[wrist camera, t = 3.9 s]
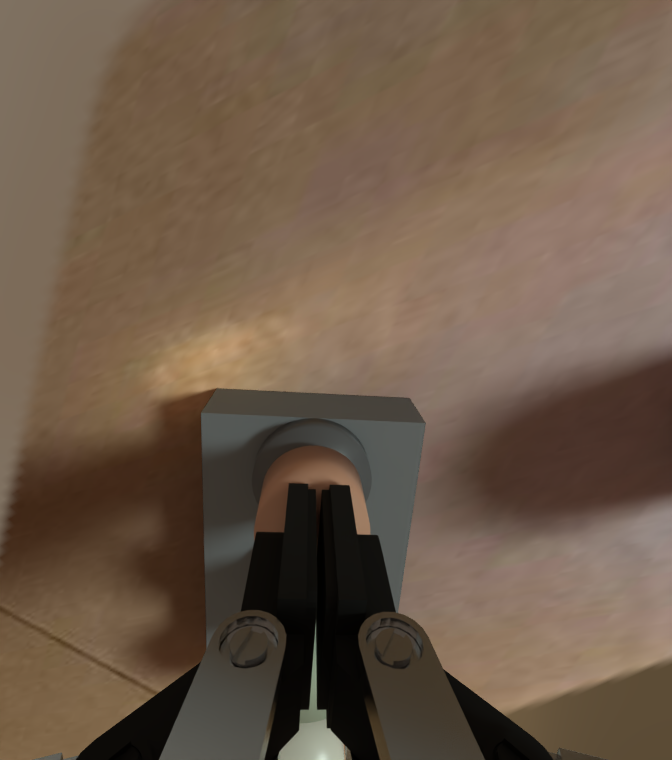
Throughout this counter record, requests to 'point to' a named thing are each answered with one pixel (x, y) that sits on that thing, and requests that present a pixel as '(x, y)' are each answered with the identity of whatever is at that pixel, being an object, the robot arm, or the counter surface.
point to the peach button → (317, 472)
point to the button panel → (281, 434)
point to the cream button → (313, 743)
